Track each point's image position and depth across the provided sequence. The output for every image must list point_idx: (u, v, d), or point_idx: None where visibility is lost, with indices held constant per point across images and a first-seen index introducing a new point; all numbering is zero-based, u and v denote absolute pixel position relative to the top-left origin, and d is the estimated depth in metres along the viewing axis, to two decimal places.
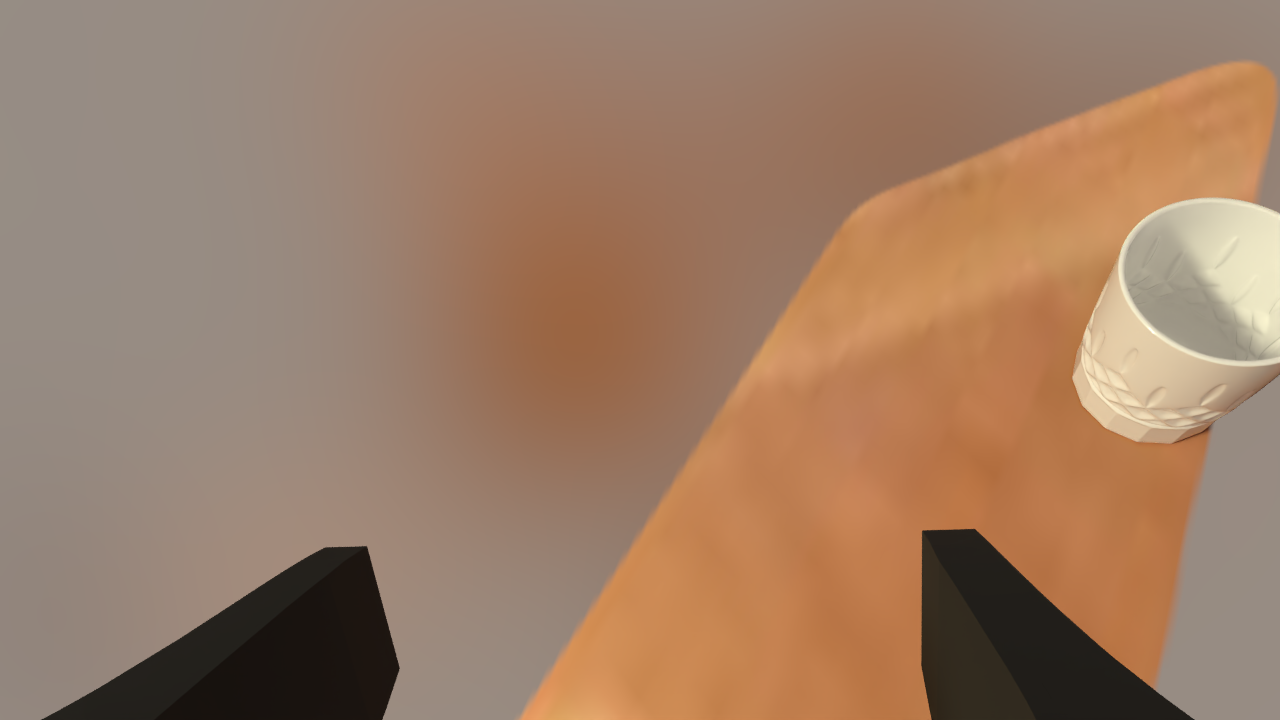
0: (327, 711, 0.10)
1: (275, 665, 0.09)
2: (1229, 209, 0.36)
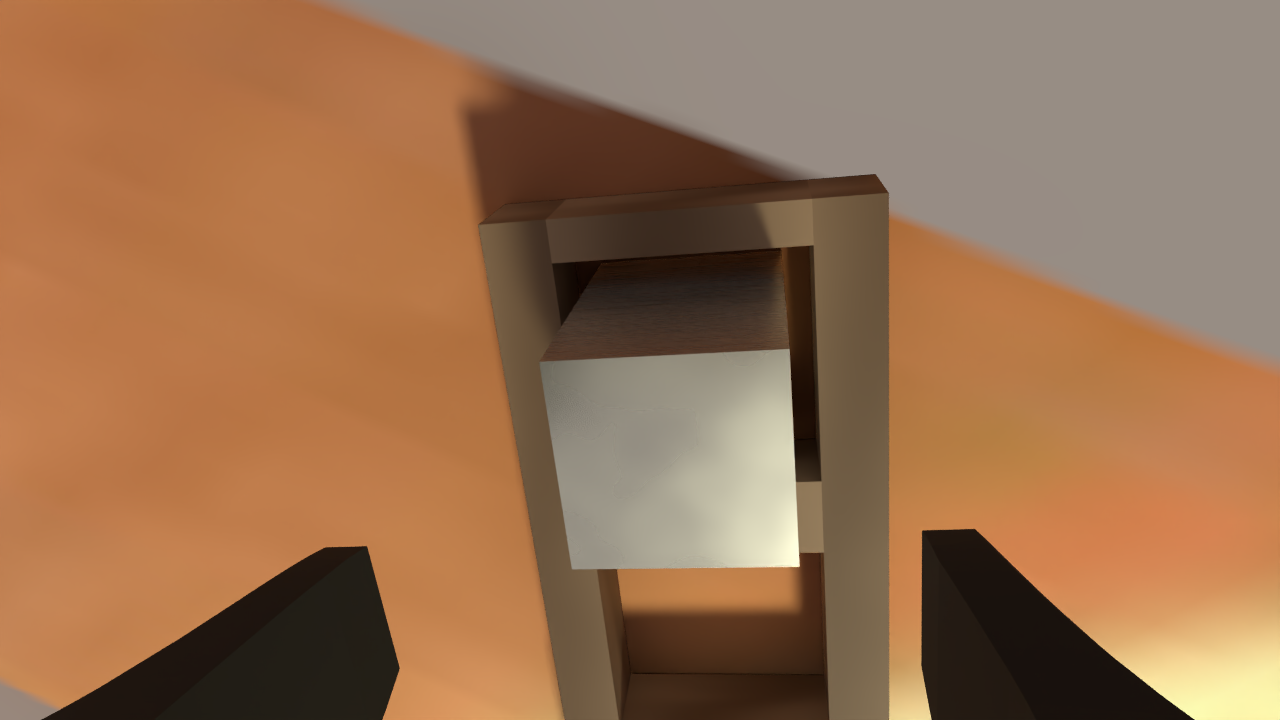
0: (327, 711, 0.10)
1: (275, 665, 0.09)
2: None
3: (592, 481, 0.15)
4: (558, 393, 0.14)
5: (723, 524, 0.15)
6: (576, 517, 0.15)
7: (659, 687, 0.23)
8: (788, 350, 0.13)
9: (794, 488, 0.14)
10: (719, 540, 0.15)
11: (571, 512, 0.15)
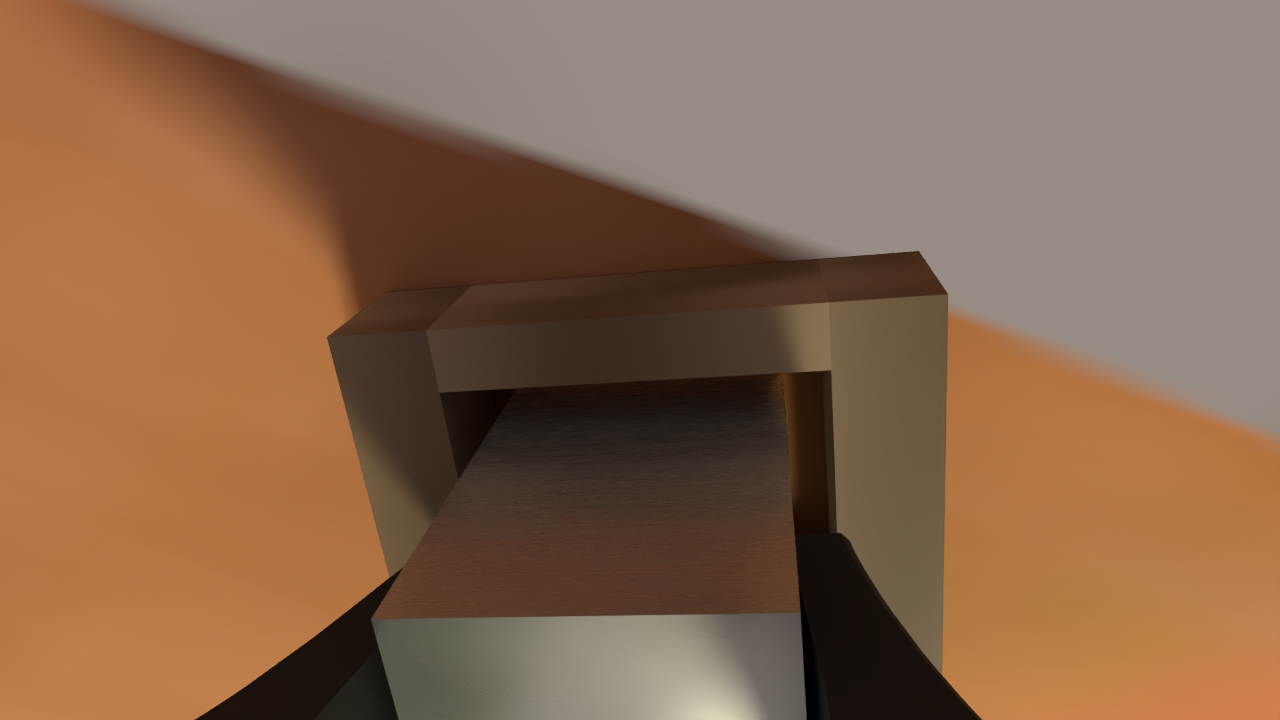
0: None
1: None
2: None
3: None
4: (407, 666, 0.08)
5: None
6: None
7: None
8: (798, 614, 0.08)
9: None
10: None
11: None
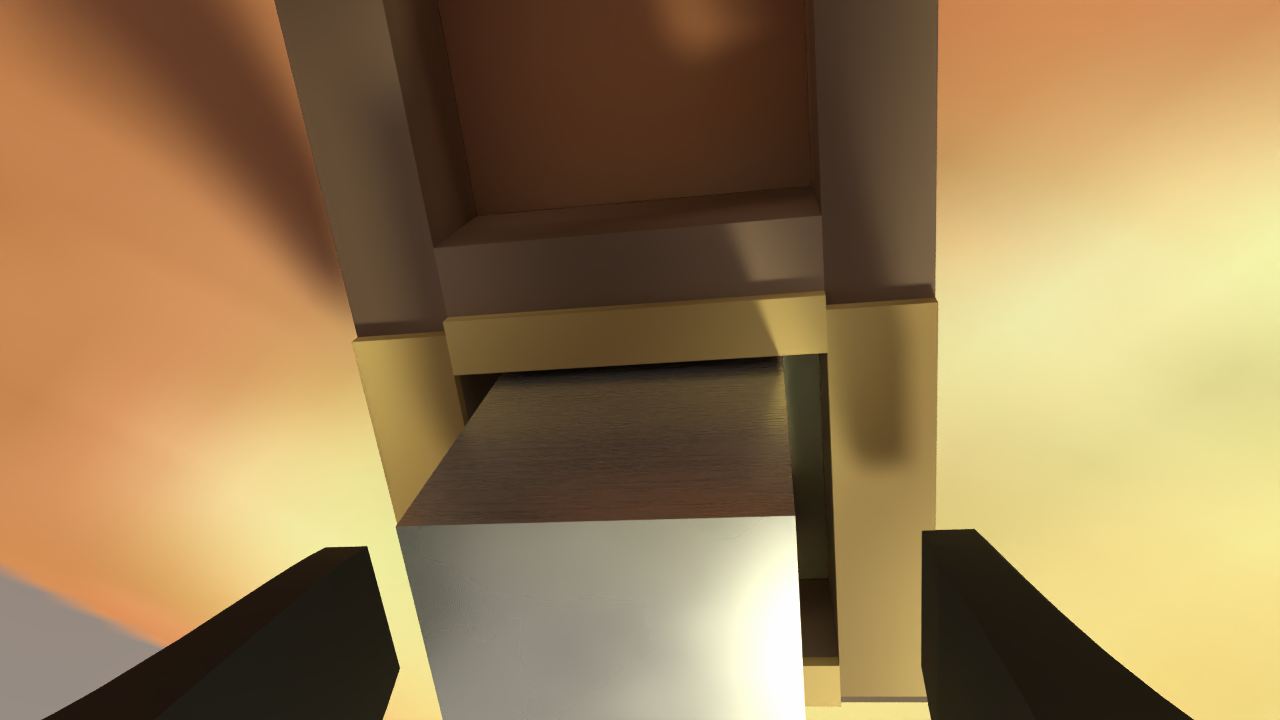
0: (327, 711, 0.10)
1: (275, 665, 0.09)
2: None
3: (490, 698, 0.09)
4: (428, 573, 0.09)
5: None
6: None
7: (520, 218, 0.13)
8: (793, 517, 0.08)
9: (802, 718, 0.09)
10: None
11: None
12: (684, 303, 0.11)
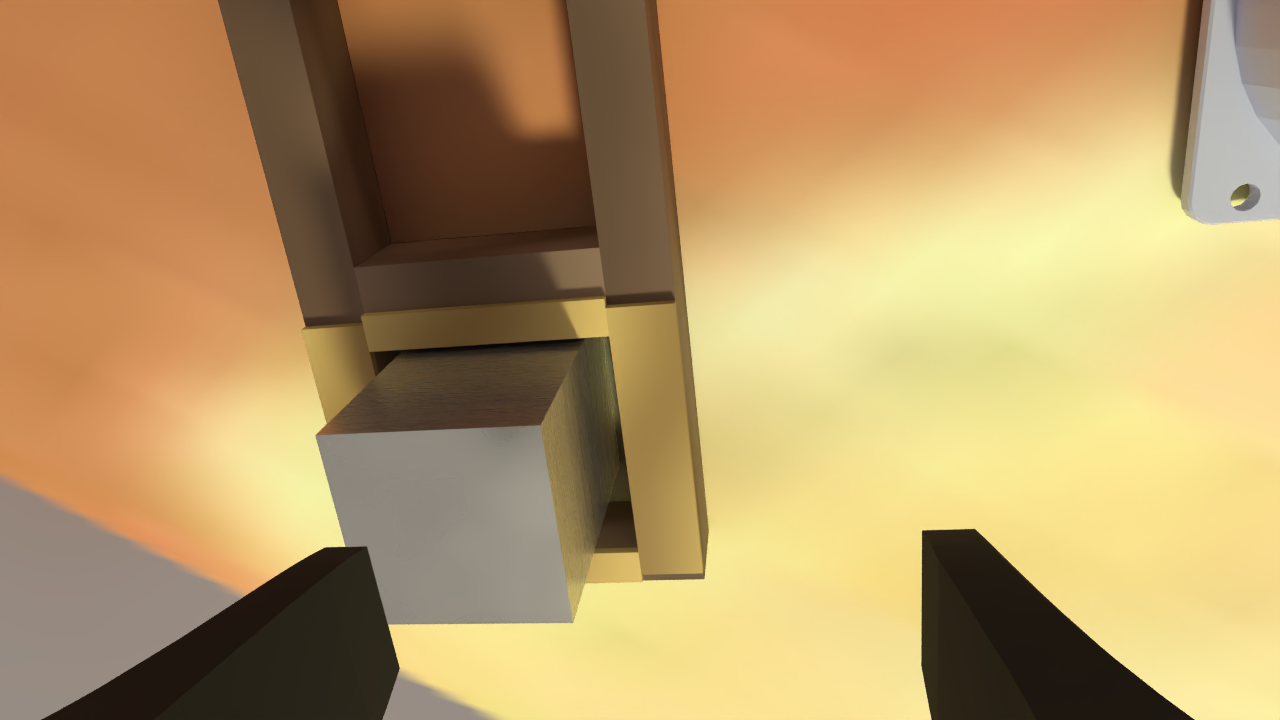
0: (327, 711, 0.10)
1: (275, 665, 0.09)
2: None
3: (377, 544, 0.16)
4: (335, 463, 0.15)
5: (499, 583, 0.16)
6: None
7: (418, 246, 0.19)
8: (540, 426, 0.14)
9: (559, 551, 0.15)
10: (497, 598, 0.16)
11: None
12: (516, 304, 0.18)
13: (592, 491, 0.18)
